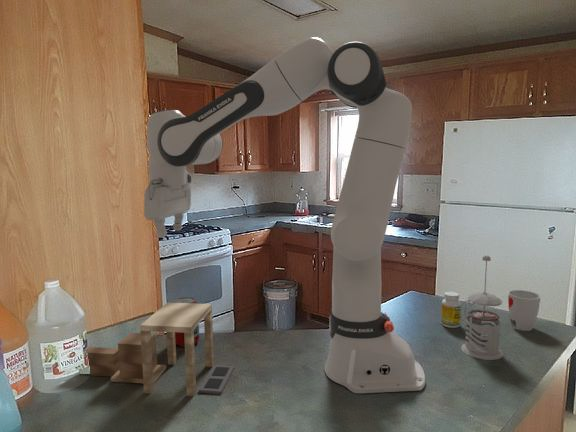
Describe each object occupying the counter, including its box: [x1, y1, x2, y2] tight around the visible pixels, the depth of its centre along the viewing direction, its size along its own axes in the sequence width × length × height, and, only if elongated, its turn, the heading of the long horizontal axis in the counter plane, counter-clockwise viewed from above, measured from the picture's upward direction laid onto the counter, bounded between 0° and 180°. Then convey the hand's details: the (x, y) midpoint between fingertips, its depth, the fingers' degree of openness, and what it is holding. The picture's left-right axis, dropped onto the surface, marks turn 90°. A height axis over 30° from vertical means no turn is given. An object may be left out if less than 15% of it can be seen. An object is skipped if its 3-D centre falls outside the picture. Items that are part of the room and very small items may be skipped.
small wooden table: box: [139, 302, 215, 397], centre depth 94 cm, size 11×14×15 cm
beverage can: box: [174, 296, 200, 348], centre depth 112 cm, size 7×7×12 cm
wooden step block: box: [87, 332, 167, 384], centre depth 96 cm, size 19×7×9 cm, turn 83°
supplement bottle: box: [440, 291, 462, 329], centre depth 123 cm, size 5×5×10 cm
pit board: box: [198, 364, 235, 395], centre depth 94 cm, size 5×11×1 cm, turn 173°
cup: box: [507, 289, 541, 332], centre depth 120 cm, size 8×8×10 cm
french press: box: [460, 255, 504, 361], centre depth 106 cm, size 10×12×25 cm
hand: (170, 233), depth 104 cm, fingers open, 8 cm apart
